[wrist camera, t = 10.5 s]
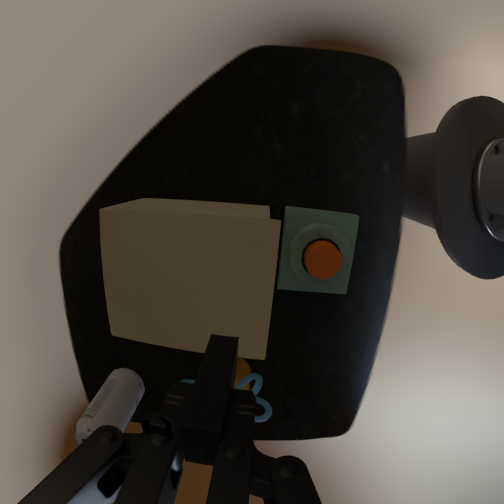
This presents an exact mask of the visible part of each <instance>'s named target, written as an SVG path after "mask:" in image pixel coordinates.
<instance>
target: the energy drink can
mask: <svg viewBox="0 0 504 504" xmlns="http://www.w3.org/2000/svg"><path fill="white" fill-rule="evenodd" d="M144 391H145V388H144V385H143V381H142V379H141V377H140V376H139V375H138V374H137V373H136V372H134V371H132V370H130V369H127V368H120V369H116V370H114V371H113V372H112V373H111V374H110V376H109V377H108V379H107V380H106V381H105V383H104V384H103V386H102V387H101V389H100V390H99V392H98V393H97V394H96V396H95V397H94V399H93V400H92V402H91V403H90V405H89V406H88V408H87V409H86V411H85V412H84V413H83V415H82V417H81V418H80V419H79V421H78V422H77V424H76V434H75V439H76V441H77V442H78V443H79V445H80V444H81V443H82V442H83V441H84V440H85V439H86V438H87V437H88V436H90V435H91V434H92V433H93V432H94V431H95V430H96V429H97V428H99V427H100V426H104V425H112V426H115V427H117V428H119V429H120V430H121V431H122V433H124V431H125V429H126V427H127V425H128V423H129V421H130V419H131V417H132V415H133V413H134V411H135V409H136V407H137V405H138V403H139V401H140V400H141V398H142V396H143V394H144Z"/></svg>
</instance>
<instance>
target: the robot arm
mask: <svg viewBox="0 0 504 504" xmlns="http://www.w3.org/2000/svg"><path fill="white" fill-rule="evenodd" d="M472 200H473V206H474V210H475V214H476V217H477V219H478V221H479V224H480V225H481V227H482V229H483V230H484V231H485V232H486V233H487V234H488V235H489V236H490V237H492V238H495V239H497V240H500V241H503V242H504V138H494V139H490V140H488V141H487V142H486V143H484V144H483V146H482V147H481V148H480V150H479V152H478V154H477V156H476V159H475V162H474V166H473V172H472ZM238 341H239V337H232V336H223V335H215V334H211V336H210V339H209V341H208V344H207V347H206V350H205V353H204V356H203V359H202V361H201V364H200V367H199V370H198V373H197V376H196V379H195V382H194V384H193V383H187V382H182V381H176V382H175V383H174V384H173V385H172V386H170V388H169V390H168V393H167V396H166V397H165V400H164V402H163V404H162V406H161V409H160V411H159V413H153V414H148V415H147V416H145V417H143V419H142V420H141V421H140V422H141V426H142V429H143V432H142V433H137V434H133V433H132V434H131V433H122V431H121V430H120V429H119V428H117V427H115V426H112V425H104V426H100V427H99V428H97V429H96V430H95V431H94V432H93V433H92V434H91V435H90V436H88V437H87V438H86V439H85V440H84V441H83V442H82V443H81V444H80V445H79V446H78V447H77V448H76V449H75V450H74V451H73V452H72V453H71V454H70V455H69V456H68V457H67V458H66V459H65V460H64V461H62V462H61V463H60V464H59V465H58V466H57V467H56V468H55V469H54V470H53V471H52V472H51V473H50V474H49V475H48V476H47V477H46V478H44V479H43V480H42V481H41V482H40V483H39V484H38V485H37V486H36V487H35V488H34V489H33V490H32V491H31V492H29V493H28V494H27V495H26V496H25V497H24V498H23V499H22V500H21V501H20V502H19V503H17V504H112V503H113V502H114V501H115V503H114V504H174V502H175V498H176V495H177V491H178V487H179V484H180V480H181V476H182V473H183V465H182V463H183V459H184V457H185V460H186V461H189V462H194V463H199V464H205V465H211V466H213V471H212V476H211V482H210V486H209V491H208V496H207V502H206V504H248V502H249V494H251V495H254V496H257V497H260V498H263V501H264V504H322V503H321V500H320V498H319V496H318V493H317V491H316V489H315V486H314V484H313V481H312V479H311V476H310V474H309V471H308V469H307V466H306V465H305V463H304V462H303V461H302V460H301V459H299V458H298V457H294V456H282V457H278V458H277V459H276V458H273V457H270V456H267V455H264V454H262V453H261V452H260V451H258V450H257V449H256V447H255V445H254V443H253V436H254V422H255V408H256V397H255V395H254V393H253V391H252V390H242V389H234V385H235V379H236V370H237V356H238ZM115 499H116V500H115Z"/></svg>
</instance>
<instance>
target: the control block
mask: <svg viewBox="0 0 504 504" xmlns="http://www.w3.org/2000/svg"><path fill="white" fill-rule="evenodd" d="M358 223H359V216H358V215H356V214H351V213H343V212H335V211H327V210H318V209H309V208H300V207H291V206H285V215H284V225H283V234H282V244H281V253H280V262H279V270H278V279H277V288H278V289H286V290H298V291H311V292H325V293H340V294H346V291H347V287H348V282H349V277H350V271H351V266H352V261H353V255H354V249H355V243H356V237H357V230H358ZM318 240H326V241H329V242H331V243H332V244H333V245H334V246H335V247H336V248H337V249H338V250H339V252H340V254H341V258H342V264H341V267H340V269H339V271H338V272H337V273H336V274H335V275H334V276H333V277H331V278H328V279H318V278H315V277H313V276H312V275H311V274H310V273H309V272H308V270H307V268H306V265H305V262H304V254H305V251H306V249H307V247H308V246H309V245H310V244H312V243H313V242H315V241H318Z"/></svg>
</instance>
